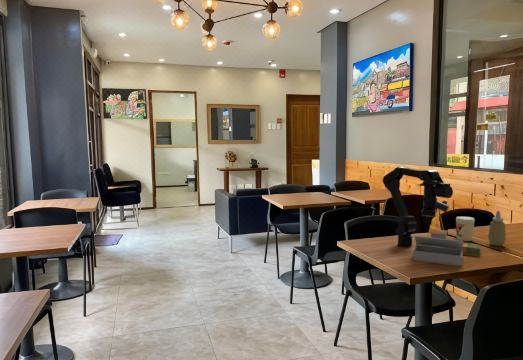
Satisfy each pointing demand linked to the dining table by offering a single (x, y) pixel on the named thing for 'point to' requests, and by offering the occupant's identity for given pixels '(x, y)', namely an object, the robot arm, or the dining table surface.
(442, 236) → the flap
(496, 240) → the squeeze bottle
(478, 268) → the dining table surface
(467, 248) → the carton
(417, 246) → the box
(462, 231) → the coffee cup
